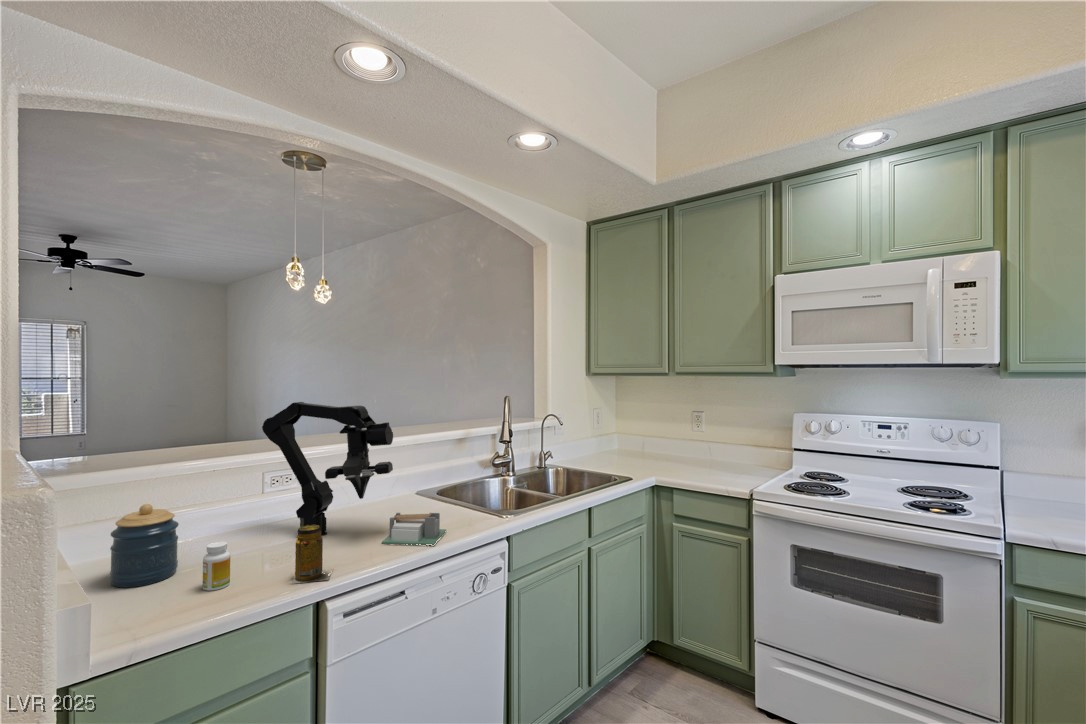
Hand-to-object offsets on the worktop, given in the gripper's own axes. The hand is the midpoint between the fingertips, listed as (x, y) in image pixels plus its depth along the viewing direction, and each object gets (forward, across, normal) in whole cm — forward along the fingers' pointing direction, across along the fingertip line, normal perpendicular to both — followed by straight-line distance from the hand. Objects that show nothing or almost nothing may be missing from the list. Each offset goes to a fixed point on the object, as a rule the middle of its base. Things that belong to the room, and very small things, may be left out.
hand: (361, 498), depth 153 cm
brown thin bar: (+6, +10, -1) cm, 12 cm away
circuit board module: (+13, +15, -2) cm, 20 cm away
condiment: (+12, -4, -30) cm, 32 cm away
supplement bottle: (+10, -24, -34) cm, 43 cm away
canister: (+8, -44, -28) cm, 53 cm away
